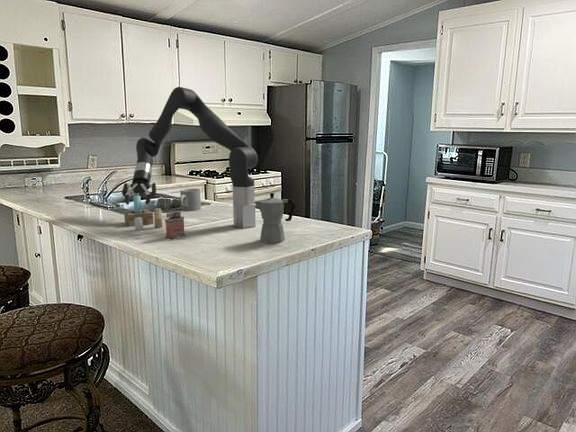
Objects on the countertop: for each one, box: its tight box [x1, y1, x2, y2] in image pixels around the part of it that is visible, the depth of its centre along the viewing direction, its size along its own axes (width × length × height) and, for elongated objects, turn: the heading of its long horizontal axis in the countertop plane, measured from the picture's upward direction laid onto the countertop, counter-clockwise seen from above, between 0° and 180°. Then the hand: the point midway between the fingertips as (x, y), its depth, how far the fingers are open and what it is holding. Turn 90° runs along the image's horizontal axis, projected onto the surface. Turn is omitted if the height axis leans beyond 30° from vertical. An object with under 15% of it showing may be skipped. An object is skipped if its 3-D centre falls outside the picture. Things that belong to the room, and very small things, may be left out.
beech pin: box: [153, 207, 163, 229], centre depth 182 cm, size 3×3×8 cm
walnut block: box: [123, 208, 155, 228], centre depth 190 cm, size 10×10×5 cm
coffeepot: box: [254, 192, 297, 244], centre depth 159 cm, size 15×9×18 cm, turn 90°
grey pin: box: [134, 217, 144, 232], centre depth 178 cm, size 3×3×5 cm
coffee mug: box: [178, 188, 202, 212], centre depth 220 cm, size 13×10×10 cm
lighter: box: [164, 211, 186, 240], centre depth 165 cm, size 8×3×10 cm, turn 141°
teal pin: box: [132, 195, 142, 213], centre depth 189 cm, size 3×3×12 cm
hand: (137, 203), depth 188 cm, fingers open, 8 cm apart
